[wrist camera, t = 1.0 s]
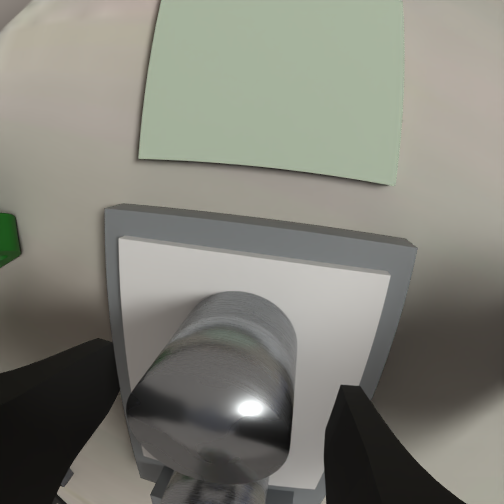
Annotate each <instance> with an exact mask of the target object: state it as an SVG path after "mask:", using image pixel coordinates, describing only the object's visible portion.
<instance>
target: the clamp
mask: <svg viewBox="0 0 504 504" xmlns="http://www.w3.org/2000/svg"><path fill="white" fill-rule="evenodd" d="M20 254H21V253H20V247H19V241H18V234H17V227H16V219H15V216H13V215H11V214H7V213H0V268H1V267H2V266H4V265H5V264H7V263H9V262H10V261H12V260H13V259H15V258H17V257H18V256H19V255H20Z"/></svg>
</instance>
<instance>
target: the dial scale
mask: <svg viewBox="0 0 504 504" xmlns="http://www.w3.org/2000/svg"><path fill="white" fill-rule="evenodd" d="M417 249H418V248H417V247H416V246H414V245H413V244H412V243H410V242H409V241H408V240H407V239H404V238H398V237H391V236H385V235H379V234H372V233H366V232H359V231H352V230H345V229H339V228H332V227H324V226H317V225H310V224H303V223H295V222H288V221H280V220H272V219H264V218H256V217H248V216H239V215H231V214H222V213H213V212H204V211H195V210H186V209H176V208H166V207H156V206H145V205H135V204H119V205H116V206H112V207H108V208H105V257H106V277H107V291H108V304H109V314H110V324H111V333H112V341H113V345H114V353H115V360H116V366H117V373H118V379H119V385H120V392H121V398H122V403H123V408H124V413H125V418H126V422H127V427H128V431H129V435H130V440H131V444H132V448H133V452H134V455H135V459H136V463H137V467H138V470H139V474H140V477H141V478H143V479H146V480H149V481H152V482H155V483H156V484H155V486H154V488H153V490H152V492H151V494H150V496H151V499H152V503H153V504H160V502H161V499H162V497H163V495H164V493H165V490H166V488H167V486H168V483H169V481H170V479H171V477H172V474H173V472H174V470H173V469H171V468H169V467H168V466H166V465H164V464H163V463H161V462H160V461H158V460H157V459H156V458H154V457H153V456H152V455H151V454H150V453H149V452H148V451H147V450H146V449H145V448H144V447H143V446H142V445H141V444H140V443H139V441H138V440H137V439H136V437H135V436H134V434H133V432H132V431H131V428H130V426H129V424H128V420H127V415H126V404H127V400H128V397H129V396H130V394H131V392H132V391H133V389H134V388H135V386H136V385H137V384H138V382H139V381H140V380H141V378H142V377H143V376H144V374H145V373H146V371H147V370H148V369H149V367H150V366H151V365H152V363H153V362H154V361H155V359H156V358H157V357H158V355H159V354H160V352H161V351H162V350H163V348H164V347H165V346H166V344H167V343H168V342H169V340H170V339H171V338H172V336H173V335H174V334H175V332H176V331H177V329H178V328H179V327H180V325H181V324H182V323H183V321H184V320H185V319H186V317H187V316H188V315H189V313H190V312H191V311H192V309H193V308H194V307H195V306H196V305H197V304H198V303H199V302H200V301H202V300H203V299H205V298H207V297H209V296H211V295H213V294H217V293H220V292H226V291H242V292H248V293H252V294H255V295H258V296H261V297H263V298H265V299H267V300H269V301H270V302H272V303H274V304H275V305H276V306H277V307H279V308H280V309H281V310H282V311H283V312H284V313H285V314H286V316H287V317H288V318H289V320H290V321H291V323H292V325H293V327H294V330H295V333H296V337H297V362H296V379H295V393H294V407H293V420H292V432H291V443H290V451H289V455H288V458H287V460H286V461H285V463H284V464H283V466H282V467H281V468H280V469H279V470H278V471H276V472H275V473H273V474H272V475H270V477H269V483H268V489H267V495H266V501H265V504H321V502H322V500H323V499H324V497H325V495H326V488H325V473H324V439H325V429H326V426H327V423H328V420H329V418H330V415H331V412H332V409H333V406H334V403H335V400H336V397H337V394H338V391H339V388H340V385H354V386H360V387H361V388H362V389H363V391H364V392H365V394H366V395H367V397H368V398H369V400H370V401H371V400H372V397H373V395H374V392H375V390H376V387H377V385H378V382H379V379H380V377H381V374H382V371H383V369H384V366H385V363H386V360H387V357H388V354H389V351H390V348H391V345H392V342H393V339H394V336H395V333H396V330H397V327H398V323H399V320H400V317H401V313H402V310H403V306H404V302H405V299H406V295H407V291H408V288H409V284H410V280H411V276H412V271H413V267H414V263H415V258H416V254H417Z"/></svg>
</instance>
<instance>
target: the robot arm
mask: <svg viewBox="0 0 504 504" xmlns="http://www.w3.org/2000/svg"><path fill="white" fill-rule="evenodd" d="M119 391H120V385H119V379H118V373H117V366H116V360H115V353H114V345H113V342H109V341H106V340H103V339H99V338H97V339H94V340H91V341H88V342H86V343H83V344H81V345H78V346H76V347H73V348H71V349H68V350H66V351H63V352H61V353H59V354H56V355H54V356H51V357H49V358H46V359H44V360H41V361H38V362H35V363H32V364H30V365H27V366H24V367H21V368H18V369H15V370H11V371H8V372H4V373H0V504H52V503H53V500H54V498H55V496H56V494H57V492H58V489H59V487H60V485H61V483H62V481H63V479H64V477H65V475H66V473H67V472H68V470H69V468H70V466H71V464H72V463H73V461H74V459H75V458H76V456H77V455H78V454H79V452H80V451H81V449H82V448H83V447H84V445H85V444H86V443H87V441H88V440H89V439H90V437H91V436H92V434H93V433H94V432H95V430H96V429H97V428H98V426H99V425H100V423H101V422H102V421H103V419H104V418H105V417H106V415H107V414H108V412H109V410H110V409H111V407H112V405H113V403H114V401H115V399H116V397H117V395H118V393H119ZM324 473H325V488H326V504H466V503H465V502H463V501H462V500H460V499H459V498H458V497H456V496H455V495H454V494H452V493H451V492H450V491H448V490H447V489H446V488H445V487H443V486H442V485H441V484H440V483H439V482H438V481H436V480H435V479H434V478H433V477H432V476H431V475H430V474H429V473H428V472H427V471H426V470H425V469H424V468H423V467H422V466H421V465H420V464H419V463H418V462H417V461H416V460H415V459H414V458H413V457H412V456H411V454H410V453H409V452H408V451H407V450H406V449H405V447H404V446H403V445H402V444H401V443H400V441H399V440H398V439H397V438H396V436H395V435H394V434H393V432H392V431H391V430H390V428H389V427H388V426H387V424H386V423H385V421H384V420H383V419H382V417H381V416H380V414H379V413H378V411H377V410H376V408H375V407H374V406H373V404H372V403H371V401H370V400H369V398H368V397H367V395H366V394H365V392H364V391H363V389H362V388H361V387H360V386H354V385H340V388H339V391H338V394H337V397H336V400H335V403H334V406H333V409H332V412H331V415H330V418H329V420H328V423H327V426H326V429H325V439H324Z"/></svg>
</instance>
